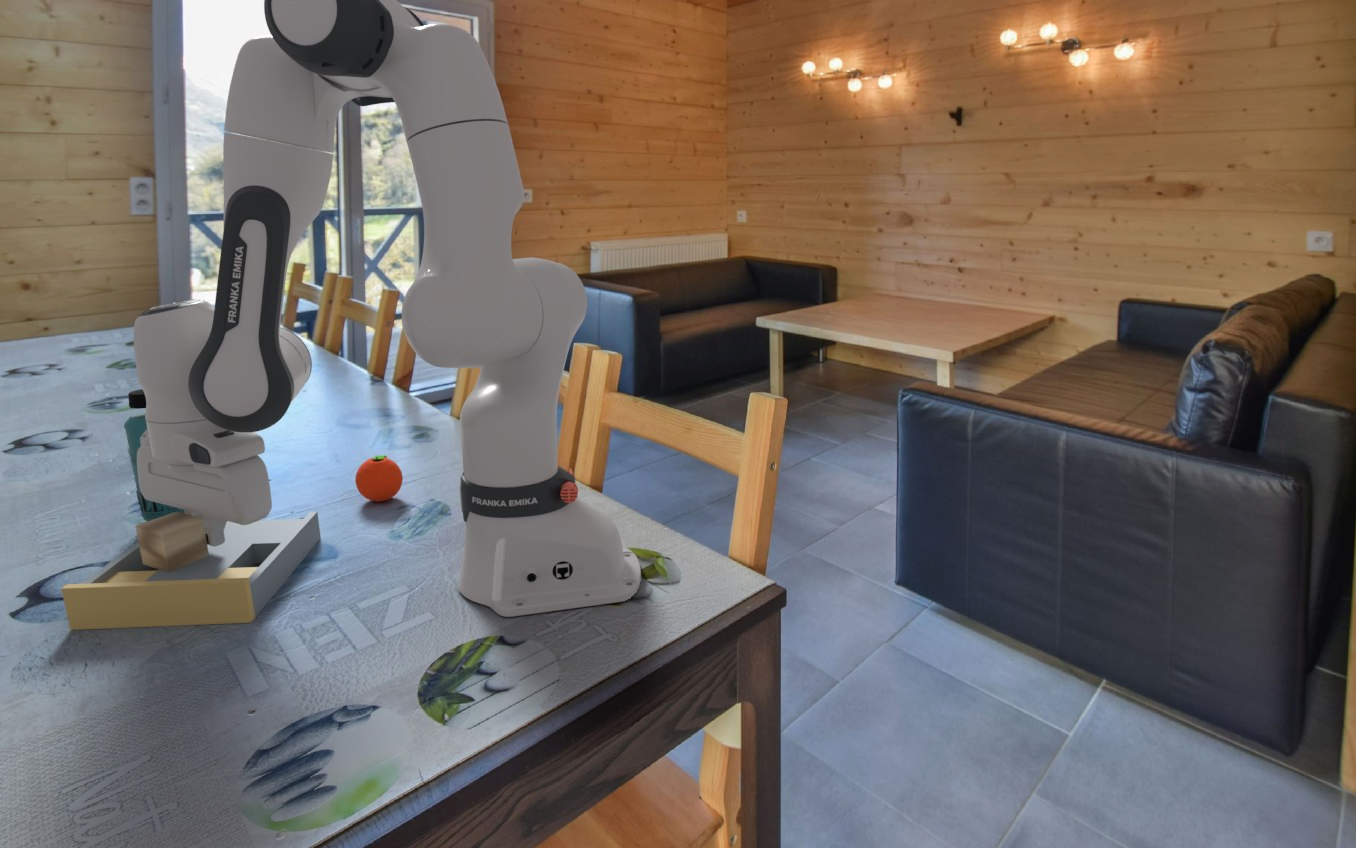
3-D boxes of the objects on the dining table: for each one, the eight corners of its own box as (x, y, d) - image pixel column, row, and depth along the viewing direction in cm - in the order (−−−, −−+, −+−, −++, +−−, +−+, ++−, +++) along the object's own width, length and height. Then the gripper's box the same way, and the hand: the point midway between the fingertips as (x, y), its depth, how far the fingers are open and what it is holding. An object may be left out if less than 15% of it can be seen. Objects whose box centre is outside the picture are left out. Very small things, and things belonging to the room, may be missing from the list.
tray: (177, 543, 110) (171, 509, 108) (320, 538, 111) (316, 504, 110) (70, 630, 88) (61, 588, 86) (251, 622, 89) (244, 581, 88)
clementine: (367, 490, 130) (363, 448, 128) (411, 489, 130) (407, 447, 128) (351, 508, 122) (346, 464, 120) (397, 507, 123) (393, 463, 121)
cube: (209, 556, 99) (202, 518, 97) (169, 572, 94) (161, 533, 93) (183, 548, 101) (176, 511, 100) (142, 564, 97) (135, 525, 95)
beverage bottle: (201, 513, 120) (178, 383, 114) (187, 530, 114) (163, 393, 108) (151, 517, 118) (127, 385, 113) (135, 535, 112) (108, 396, 107)
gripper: (113, 432, 98) (134, 537, 101) (224, 455, 89) (242, 569, 93) (164, 420, 103) (182, 519, 107) (273, 441, 95) (289, 548, 98)
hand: (211, 543), depth 100 cm, fingers closed
